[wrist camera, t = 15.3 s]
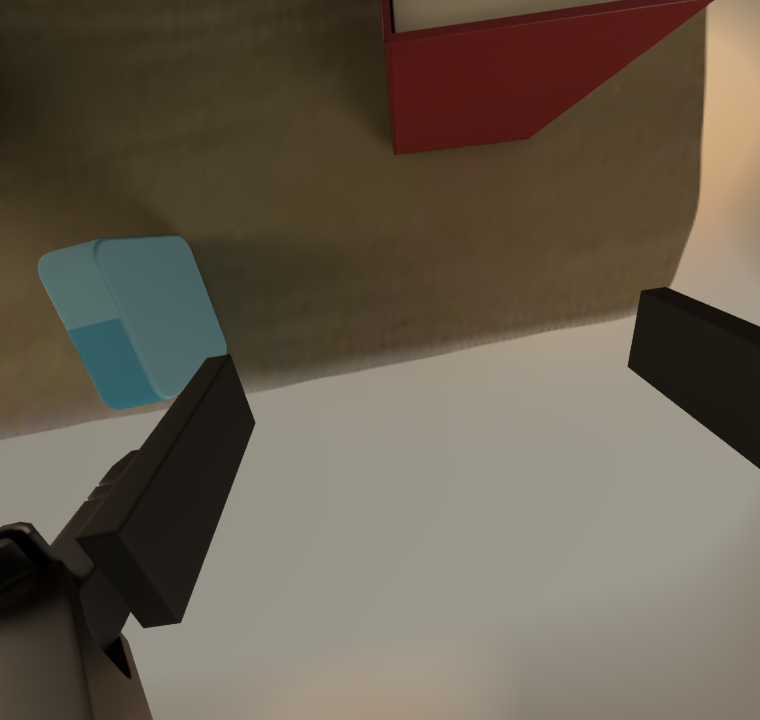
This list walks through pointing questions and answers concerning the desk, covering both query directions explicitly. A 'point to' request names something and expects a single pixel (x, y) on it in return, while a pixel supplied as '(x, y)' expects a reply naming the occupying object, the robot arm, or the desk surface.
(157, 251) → the data package
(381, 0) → the book
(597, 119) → the desk surface
